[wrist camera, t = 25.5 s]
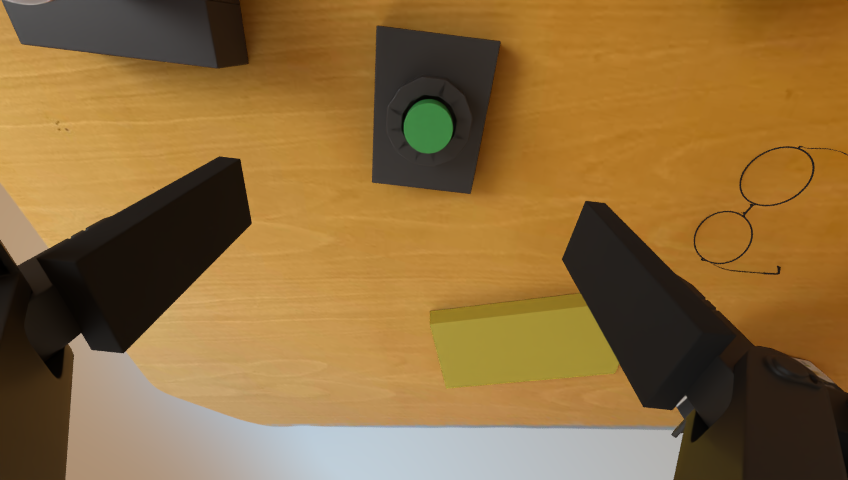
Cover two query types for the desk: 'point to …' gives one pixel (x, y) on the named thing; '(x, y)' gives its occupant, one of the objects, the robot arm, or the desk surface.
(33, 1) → the dark red cylinder
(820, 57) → the desk surface
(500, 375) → the flat olive board
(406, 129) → the button
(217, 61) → the square peg hole block
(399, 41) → the panel
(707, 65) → the desk surface
